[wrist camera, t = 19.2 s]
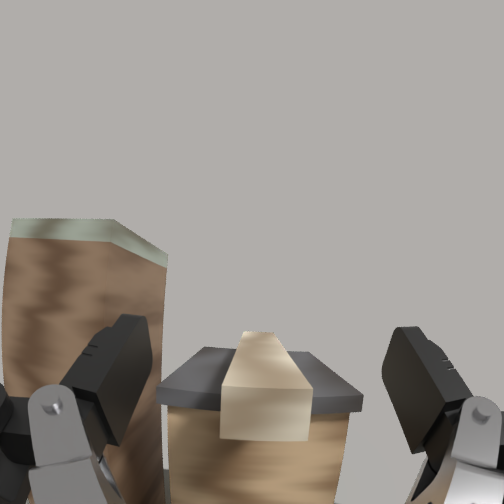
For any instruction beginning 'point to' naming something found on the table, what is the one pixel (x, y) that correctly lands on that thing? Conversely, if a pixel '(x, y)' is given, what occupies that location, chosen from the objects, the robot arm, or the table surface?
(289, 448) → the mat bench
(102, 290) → the walnut stand
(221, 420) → the slat
